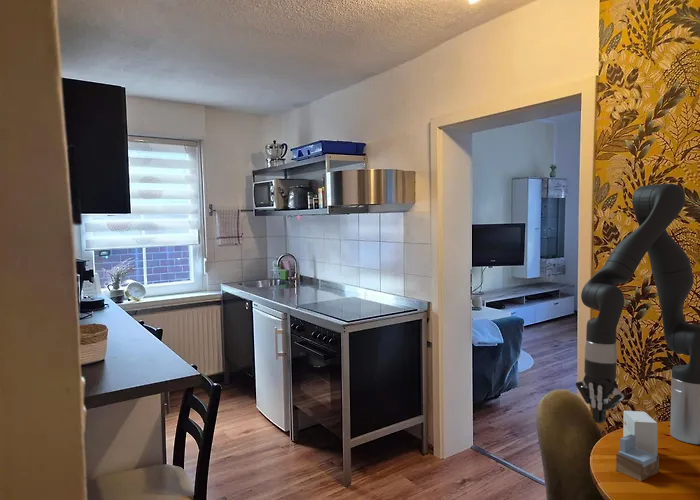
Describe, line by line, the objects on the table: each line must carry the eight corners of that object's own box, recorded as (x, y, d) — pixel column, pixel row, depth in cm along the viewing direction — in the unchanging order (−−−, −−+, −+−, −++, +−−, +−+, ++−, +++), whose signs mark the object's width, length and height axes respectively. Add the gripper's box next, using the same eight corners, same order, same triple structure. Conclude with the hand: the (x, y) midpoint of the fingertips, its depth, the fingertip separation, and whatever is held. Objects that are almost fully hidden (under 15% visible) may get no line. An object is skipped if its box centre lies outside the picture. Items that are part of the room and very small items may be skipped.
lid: (631, 451, 121) (632, 433, 121) (656, 460, 116) (657, 442, 116) (618, 456, 118) (618, 439, 118) (643, 467, 113) (643, 448, 113)
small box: (657, 462, 121) (658, 423, 121) (633, 460, 122) (634, 421, 122) (644, 448, 129) (645, 411, 129) (622, 446, 130) (623, 409, 130)
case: (633, 462, 122) (634, 446, 121) (658, 472, 116) (658, 455, 116) (616, 470, 118) (616, 454, 117) (640, 481, 112) (641, 464, 112)
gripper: (633, 362, 121) (631, 428, 121) (585, 351, 132) (584, 411, 133) (617, 366, 117) (615, 434, 118) (569, 354, 128) (567, 416, 129)
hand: (598, 422), depth 125 cm, fingers closed
